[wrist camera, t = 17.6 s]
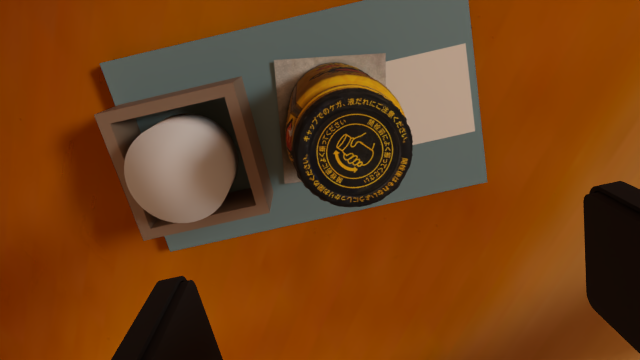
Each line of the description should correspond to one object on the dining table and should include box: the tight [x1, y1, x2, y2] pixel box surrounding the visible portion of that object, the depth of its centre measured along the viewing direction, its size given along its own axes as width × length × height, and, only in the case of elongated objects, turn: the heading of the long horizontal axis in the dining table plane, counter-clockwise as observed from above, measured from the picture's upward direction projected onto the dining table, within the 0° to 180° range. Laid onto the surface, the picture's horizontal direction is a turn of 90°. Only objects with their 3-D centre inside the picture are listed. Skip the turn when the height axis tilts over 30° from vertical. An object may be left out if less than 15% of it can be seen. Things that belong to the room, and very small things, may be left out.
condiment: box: [274, 53, 413, 207], centre depth 24 cm, size 7×8×12 cm
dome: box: [124, 113, 238, 223], centre depth 27 cm, size 6×6×3 cm
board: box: [94, 0, 487, 252], centre depth 29 cm, size 14×24×5 cm, turn 103°
